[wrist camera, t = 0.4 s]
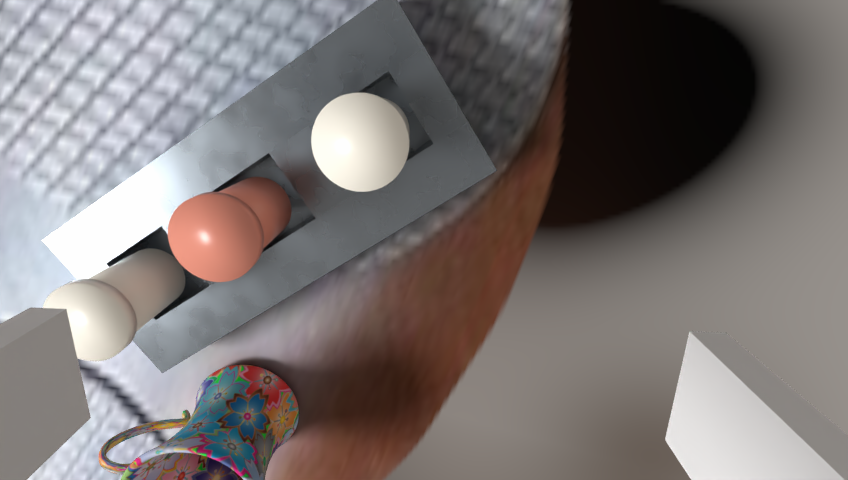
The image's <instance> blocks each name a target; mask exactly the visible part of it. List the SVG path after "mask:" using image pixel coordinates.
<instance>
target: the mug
mask: <svg viewBox="0 0 848 480" xmlns="http://www.w3.org/2000/svg"><path fill="white" fill-rule="evenodd" d="M182 416H183V419H170V420H161V421H155V422H151V423H146V424H143V425H139V426H136V427H133V428H131V429H128V430H126V431H124V432H121V433H119V434H118V435H116V436H114V437H112V438H111V439H110V440H108V441H107V442H106V443H105V444H104V445H103V446H102V448H101V450H100V452H99V463H100V465H101V466H102V467H103V468H104V469H105V470H107V471H109V472H111V473H115V474H123V476H122V478H121V480H265V475H266V470H267V467H268V464H269V461H270V459H271V457H272V455H273V453H274V452H275V451H276V449H277V448H278V447H280V446H281V445H283V444H284V443H285V442H286V441H287V440H288V439H289V438H290V437H291V436H292V435H293V433H294V431H295V429H296V427H297V424H298V419H299V408H298V403H297V400H296V398H295V396H294V394H293V392H292V390H291V389H290V388H289V386H288V385H287V384H286V383H285V382H284V381H283V380H282V379H281V378H279V377H278V376H277V375H275V374H274V373H272V372H270V371H268V370H266V369H263V368H260V367H256V366H251V365H232V366H228V367H224V368H222V369H219V370H217V371H216V372H214V373H213V374H211V375H210V376H209V377H207V378H206V379H205V381H204V382H203V383H202V385H201V386H200V388H199V390H198V393H197V397H196V408H195V411H194V413H193V415H192V416H191V418H190V413H189V412H188V410H185V411H183V414H182ZM181 427H183V428H182V429H181V430H180V431H179V432H178V433H177V434H176V435H174V436H173V437H172V438H171V439H169V440H168V441H166V442H165V443H163V444H161V445H160V446H158V447H156V448H154V449H152V450H150V451H148V452H146V453H144V454H142V455H141V456H139V457H138V458H136V459H135V460H134V461H133V462H132V463H131V464H119V463H115V462H112V461H110V460H109V459H108V458H107V457H106V453H107V452H108V451H109V450H110V449H111V448H113V447H114V446H115V445H117V444H119V443H121V442H123V441H125V440H127V439H129V438H131V437H134V436H137V435H140V434H143V433H147V432H151V431H156V430H162V429H170V428H181Z"/></svg>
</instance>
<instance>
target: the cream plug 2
mask: <svg viewBox="0 0 848 480" xmlns="http://www.w3.org/2000/svg"><path fill="white" fill-rule="evenodd" d="M409 135H410V129H409V123H408V120H407V117H406V115H405V114H404V112H403V111H402V109H401V108H400V107H399V106H398V105H397V104H395V103H394V102H392V101H390V100H388V99H385V98H381V97H379V96H377V95H374V94H370V93H349V94H345V95H342V96H339V97H337V98H335V99H334V100H332V101H331V102H329V103H328V104H327V105H326V106H325V107H324V108H323V109H322V110H321V112H320V113H319V114H318V116H317V118H316V120H315V123H314V125H313V129H312V136H311V145H312V151H313V155H314V158H315V160H316V163H317V165H318V166H319V168H320V170H321V171H322V172H323V173H324V175H325V176H326V177H327V178H328V179H329V180H331V181H332V182H333V183H335V184H337V185H338V186H340V187H342V188H345V189H348V190H351V191H357V192H367V191H373V190H377V189H379V188H382V187H384V186H385V185H387V184H389V183H390V182H391V181H393V180H394V179H395V178H396V177H397V175H398V174H399V173H400V172H401V170H402V168H403V167H404V164H405V162H406V159H407V156H408V153H409V145H410V140H409Z"/></svg>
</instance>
